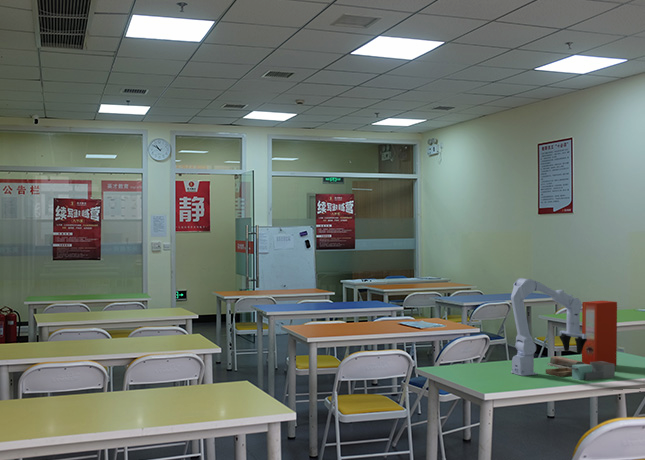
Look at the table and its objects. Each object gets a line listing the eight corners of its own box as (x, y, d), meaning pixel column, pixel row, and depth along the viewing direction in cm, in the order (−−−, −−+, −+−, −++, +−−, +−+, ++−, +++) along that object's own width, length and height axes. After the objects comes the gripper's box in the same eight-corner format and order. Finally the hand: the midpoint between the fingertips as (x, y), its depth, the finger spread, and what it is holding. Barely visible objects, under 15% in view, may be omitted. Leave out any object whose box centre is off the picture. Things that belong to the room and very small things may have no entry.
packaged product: (546, 356, 320) (561, 355, 324) (546, 366, 320) (561, 364, 324) (574, 362, 304) (590, 361, 308) (574, 372, 304) (590, 371, 308)
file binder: (617, 366, 319) (617, 301, 319) (596, 369, 309) (596, 303, 310) (602, 363, 325) (602, 300, 326) (581, 367, 316) (581, 301, 316)
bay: (586, 380, 285) (586, 366, 285) (573, 376, 292) (573, 363, 292) (614, 377, 292) (614, 363, 292) (601, 374, 299) (601, 361, 299)
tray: (559, 376, 292) (559, 372, 292) (545, 373, 299) (545, 369, 299) (580, 374, 297) (580, 370, 297) (566, 371, 305) (566, 367, 305)
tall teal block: (576, 380, 285) (576, 366, 285) (569, 378, 288) (569, 365, 289) (592, 378, 289) (592, 365, 289) (585, 376, 292) (585, 363, 293)
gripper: (591, 324, 296) (591, 354, 296) (567, 320, 310) (567, 349, 309) (580, 325, 293) (580, 355, 293) (556, 321, 307) (556, 350, 306)
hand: (572, 352), depth 301 cm, fingers open, 7 cm apart
